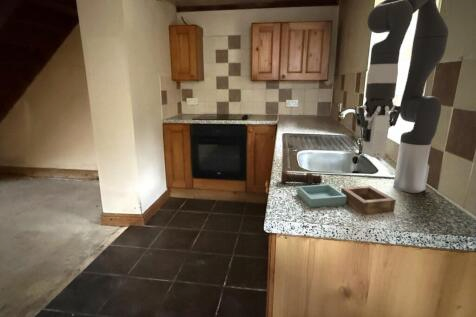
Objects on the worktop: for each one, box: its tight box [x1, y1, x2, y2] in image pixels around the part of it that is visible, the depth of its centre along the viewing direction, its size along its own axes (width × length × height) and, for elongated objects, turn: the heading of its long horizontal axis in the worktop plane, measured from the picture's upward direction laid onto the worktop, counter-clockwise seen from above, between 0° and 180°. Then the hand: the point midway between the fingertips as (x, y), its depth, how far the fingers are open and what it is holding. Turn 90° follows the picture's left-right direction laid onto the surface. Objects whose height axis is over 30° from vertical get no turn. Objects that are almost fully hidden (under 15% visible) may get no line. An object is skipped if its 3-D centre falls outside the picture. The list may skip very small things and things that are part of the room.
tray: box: [296, 183, 347, 209], centre depth 93 cm, size 12×11×3 cm
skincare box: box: [361, 113, 389, 158], centre depth 83 cm, size 6×4×12 cm
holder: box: [340, 185, 397, 216], centre depth 88 cm, size 10×12×4 cm
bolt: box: [280, 169, 323, 186], centre depth 107 cm, size 6×5×15 cm
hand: (374, 140), depth 83 cm, fingers closed on skincare box, 4 cm apart
